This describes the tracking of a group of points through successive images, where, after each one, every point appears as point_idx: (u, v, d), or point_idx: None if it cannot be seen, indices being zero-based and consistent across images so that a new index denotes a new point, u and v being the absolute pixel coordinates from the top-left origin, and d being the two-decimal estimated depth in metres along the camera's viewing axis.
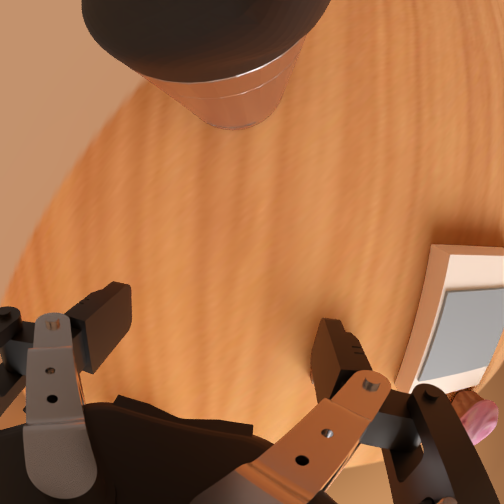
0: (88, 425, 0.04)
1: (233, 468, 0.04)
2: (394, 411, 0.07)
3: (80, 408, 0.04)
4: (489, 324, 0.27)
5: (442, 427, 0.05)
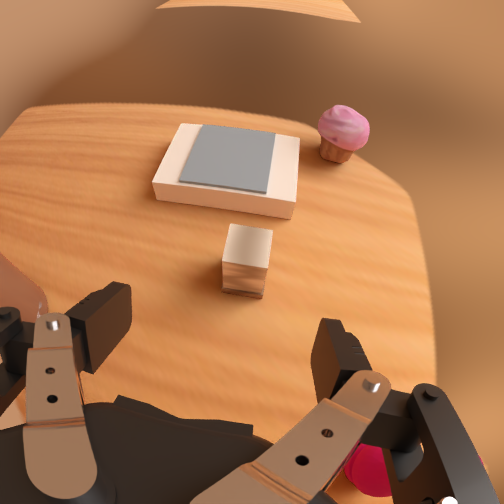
0: (88, 425, 0.04)
1: (233, 468, 0.04)
2: (394, 411, 0.07)
3: (80, 408, 0.04)
4: (227, 141, 0.44)
5: (442, 427, 0.05)
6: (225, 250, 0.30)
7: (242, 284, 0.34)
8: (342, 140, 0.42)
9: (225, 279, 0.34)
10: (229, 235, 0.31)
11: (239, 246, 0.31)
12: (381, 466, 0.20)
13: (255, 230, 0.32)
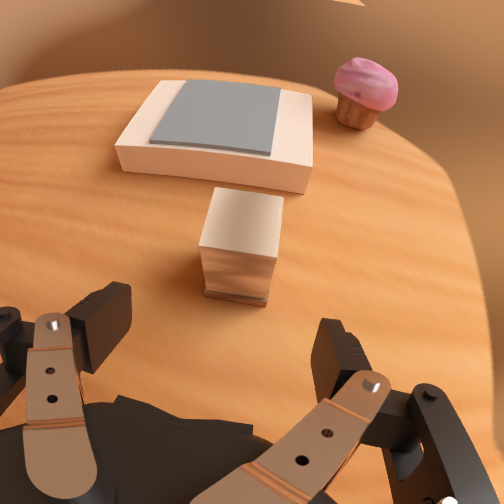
0: (88, 425, 0.04)
1: (233, 468, 0.04)
2: (394, 411, 0.07)
3: (80, 408, 0.04)
4: (217, 95, 0.31)
5: (442, 427, 0.05)
6: (205, 228, 0.18)
7: (235, 285, 0.22)
8: (368, 95, 0.30)
9: (209, 277, 0.21)
10: (213, 204, 0.19)
11: (229, 222, 0.18)
12: None
13: (256, 197, 0.19)
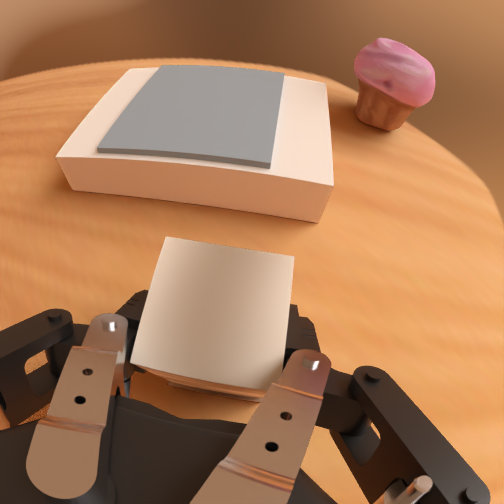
0: (112, 432, 0.05)
1: None
2: (334, 390, 0.08)
3: (105, 415, 0.04)
4: (197, 82, 0.22)
5: (393, 408, 0.06)
6: (142, 326, 0.09)
7: (211, 388, 0.12)
8: (401, 85, 0.21)
9: (168, 378, 0.12)
10: (159, 275, 0.10)
11: (188, 315, 0.09)
12: None
13: (242, 259, 0.10)
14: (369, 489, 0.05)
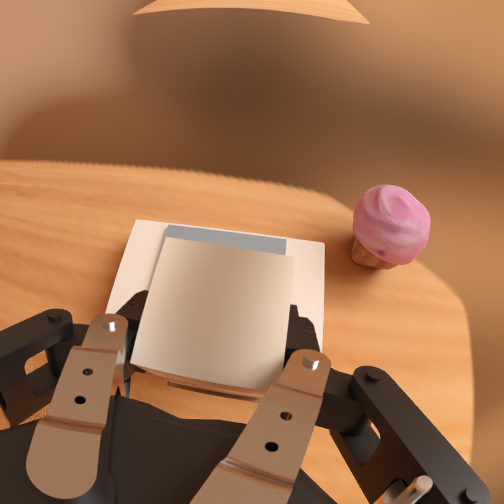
0: (112, 432, 0.05)
1: None
2: (334, 391, 0.08)
3: (105, 415, 0.04)
4: None
5: (393, 408, 0.06)
6: (142, 326, 0.09)
7: (212, 389, 0.12)
8: (394, 255, 0.26)
9: (168, 379, 0.12)
10: (159, 275, 0.10)
11: (188, 315, 0.09)
12: None
13: (242, 259, 0.10)
14: (369, 489, 0.05)
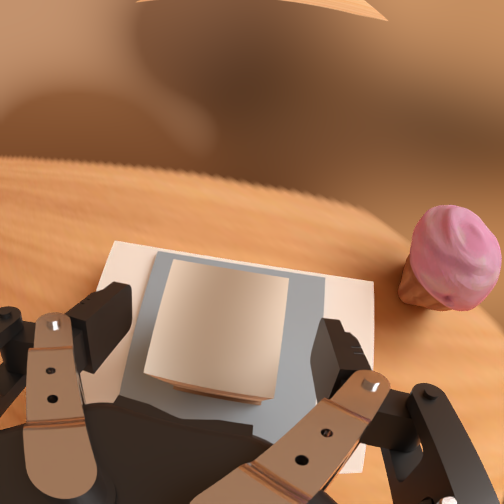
0: (88, 425, 0.04)
1: (233, 468, 0.04)
2: (393, 411, 0.07)
3: (80, 408, 0.04)
4: None
5: (441, 427, 0.05)
6: (154, 340, 0.10)
7: (214, 393, 0.14)
8: (463, 302, 0.17)
9: (174, 384, 0.13)
10: (168, 295, 0.11)
11: (194, 331, 0.10)
12: None
13: (241, 281, 0.11)
14: None
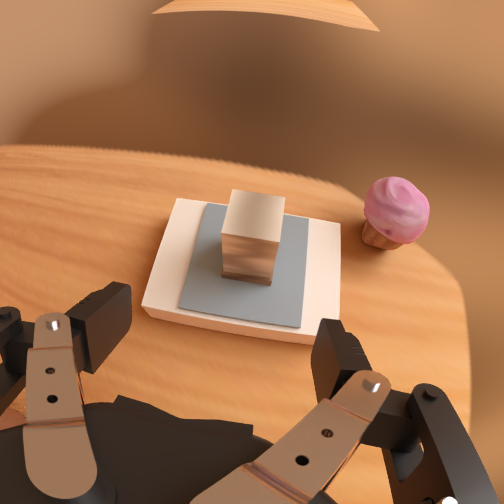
0: (88, 425, 0.04)
1: (233, 468, 0.04)
2: (394, 411, 0.07)
3: (80, 408, 0.04)
4: None
5: (442, 427, 0.05)
6: (225, 220, 0.24)
7: (247, 266, 0.28)
8: (399, 234, 0.31)
9: (226, 259, 0.27)
10: (231, 202, 0.25)
11: (244, 216, 0.24)
12: None
13: (264, 197, 0.25)
14: None
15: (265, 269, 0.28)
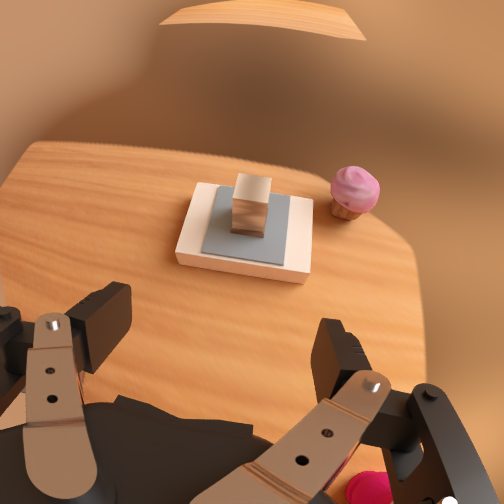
0: (88, 425, 0.04)
1: (233, 468, 0.04)
2: (394, 411, 0.07)
3: (80, 408, 0.04)
4: None
5: (442, 427, 0.05)
6: (235, 190, 0.39)
7: (247, 222, 0.42)
8: (354, 205, 0.46)
9: (234, 217, 0.42)
10: (238, 181, 0.40)
11: (246, 188, 0.39)
12: (373, 497, 0.24)
13: (258, 178, 0.40)
14: None
15: (259, 224, 0.42)
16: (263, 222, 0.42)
